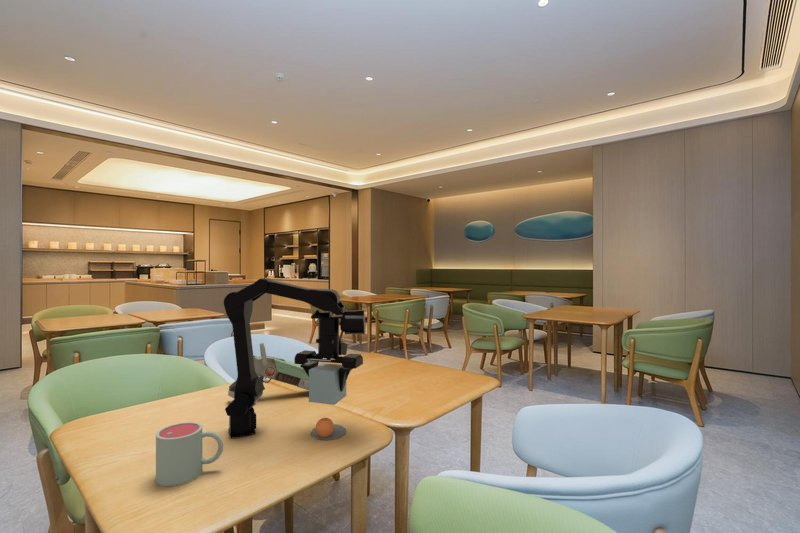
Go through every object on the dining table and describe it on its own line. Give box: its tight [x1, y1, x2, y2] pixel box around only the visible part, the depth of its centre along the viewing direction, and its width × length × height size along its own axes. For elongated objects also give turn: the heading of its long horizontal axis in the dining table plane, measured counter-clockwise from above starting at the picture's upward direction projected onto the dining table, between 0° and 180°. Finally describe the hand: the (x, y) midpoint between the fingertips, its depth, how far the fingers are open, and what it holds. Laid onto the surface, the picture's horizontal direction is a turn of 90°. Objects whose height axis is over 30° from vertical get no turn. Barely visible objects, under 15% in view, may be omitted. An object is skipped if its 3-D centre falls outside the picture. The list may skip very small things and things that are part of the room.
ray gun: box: [227, 342, 309, 399], centre depth 143 cm, size 7×32×20 cm, turn 112°
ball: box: [314, 417, 335, 437], centre depth 110 cm, size 5×5×5 cm
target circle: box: [310, 423, 347, 441], centre depth 113 cm, size 10×10×1 cm
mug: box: [155, 421, 224, 487], centre depth 90 cm, size 14×9×10 cm
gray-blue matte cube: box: [308, 362, 347, 406], centre depth 112 cm, size 8×8×9 cm
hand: (328, 389), depth 113 cm, fingers closed on gray-blue matte cube, 8 cm apart
